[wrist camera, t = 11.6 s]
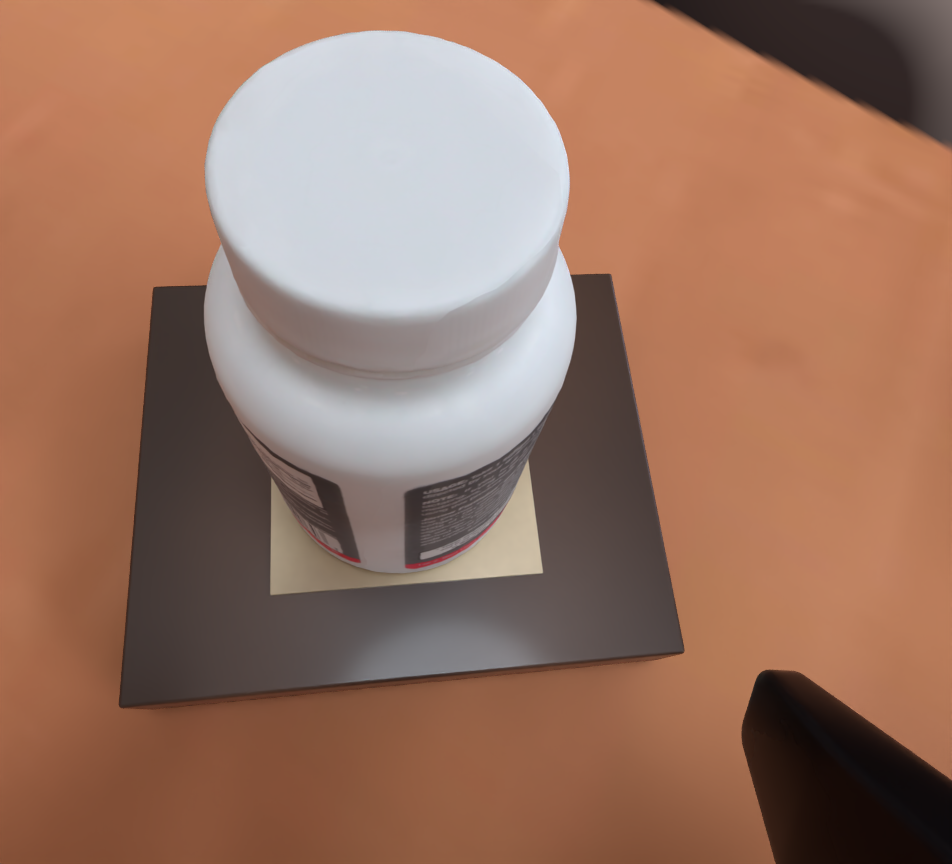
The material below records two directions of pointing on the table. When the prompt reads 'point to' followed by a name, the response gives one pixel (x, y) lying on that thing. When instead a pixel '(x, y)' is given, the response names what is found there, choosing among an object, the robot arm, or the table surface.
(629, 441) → the shelf board
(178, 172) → the table surface
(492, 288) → the pill bottle
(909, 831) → the robot arm
